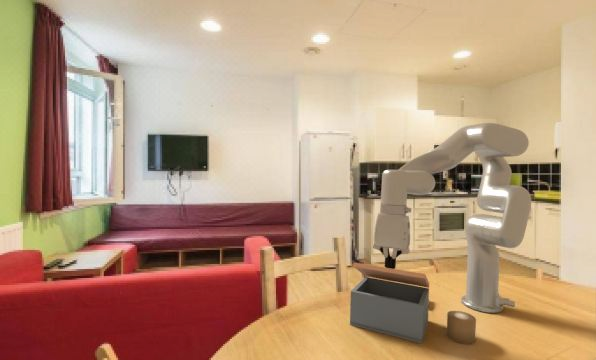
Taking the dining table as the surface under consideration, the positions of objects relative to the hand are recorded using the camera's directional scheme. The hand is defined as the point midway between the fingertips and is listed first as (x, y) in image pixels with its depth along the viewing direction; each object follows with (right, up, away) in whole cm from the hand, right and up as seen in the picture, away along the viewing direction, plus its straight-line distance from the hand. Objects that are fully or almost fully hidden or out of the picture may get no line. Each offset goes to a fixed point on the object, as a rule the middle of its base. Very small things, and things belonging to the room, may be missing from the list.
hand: (389, 270), depth 94 cm
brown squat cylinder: (+17, -16, -8) cm, 25 cm away
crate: (0, -16, -1) cm, 16 cm away
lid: (0, -2, 0) cm, 2 cm away
